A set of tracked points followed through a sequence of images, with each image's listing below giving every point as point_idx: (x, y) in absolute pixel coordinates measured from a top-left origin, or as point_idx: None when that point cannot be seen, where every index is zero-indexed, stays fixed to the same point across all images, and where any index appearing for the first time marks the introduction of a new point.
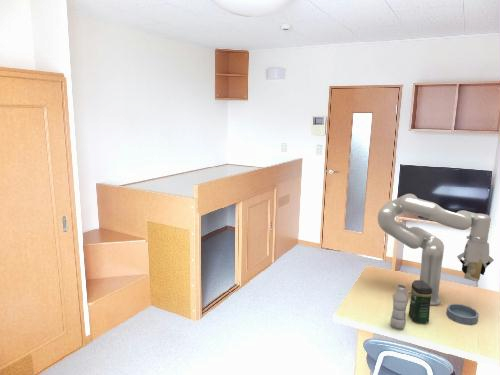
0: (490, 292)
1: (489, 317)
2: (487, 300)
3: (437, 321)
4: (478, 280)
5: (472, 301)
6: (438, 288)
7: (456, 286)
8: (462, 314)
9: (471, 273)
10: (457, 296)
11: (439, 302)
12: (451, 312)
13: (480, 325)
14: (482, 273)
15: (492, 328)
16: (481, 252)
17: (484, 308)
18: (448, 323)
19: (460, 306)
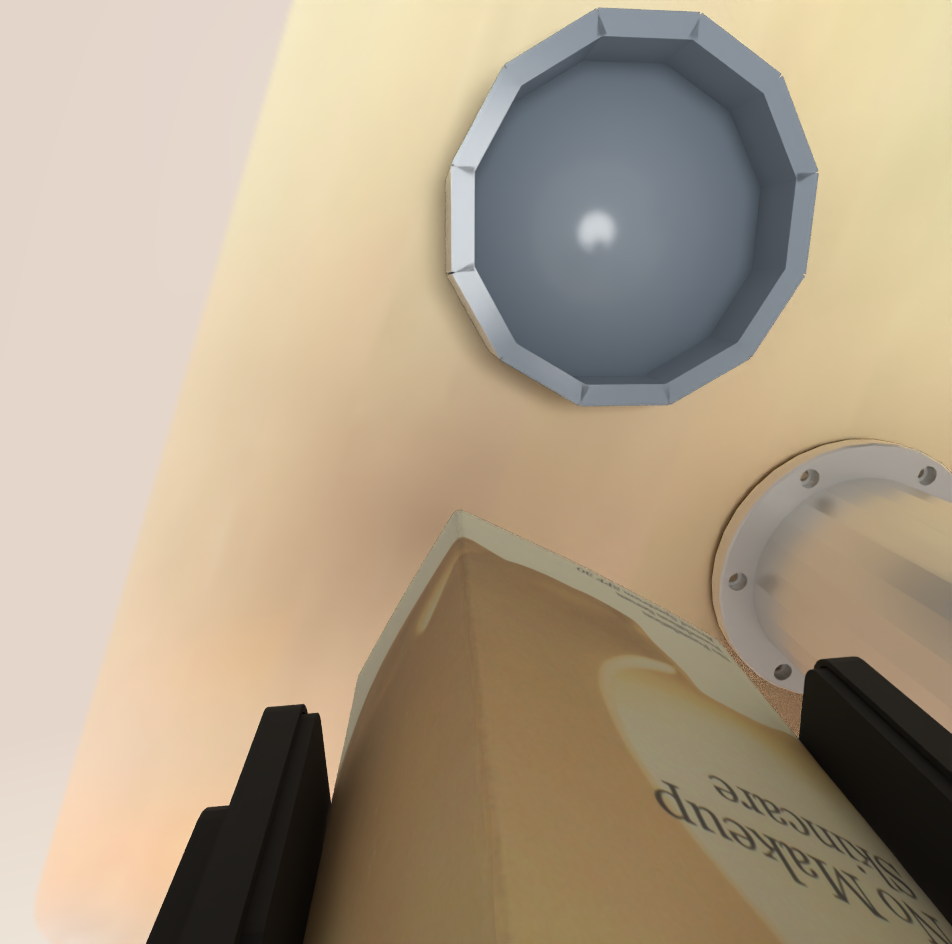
0: (86, 901)
1: (275, 300)
2: (174, 713)
3: (929, 62)
4: (423, 569)
5: (353, 648)
6: (885, 594)
7: None
8: (601, 254)
9: (665, 677)
10: None
11: (764, 494)
12: (804, 136)
13: (452, 61)
14: (304, 738)
15: (327, 8)
16: None
17: (267, 514)
18: (820, 36)
19: (597, 381)
